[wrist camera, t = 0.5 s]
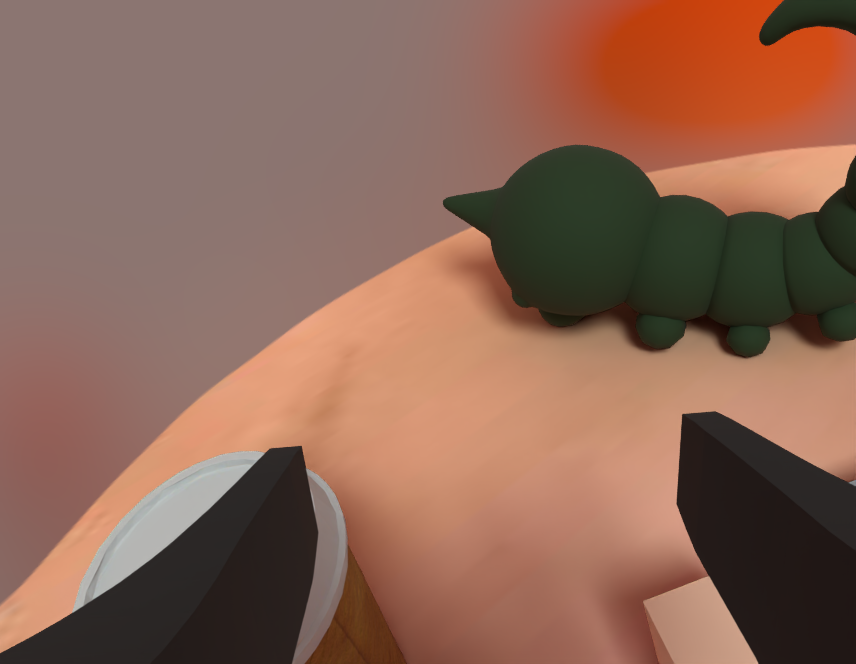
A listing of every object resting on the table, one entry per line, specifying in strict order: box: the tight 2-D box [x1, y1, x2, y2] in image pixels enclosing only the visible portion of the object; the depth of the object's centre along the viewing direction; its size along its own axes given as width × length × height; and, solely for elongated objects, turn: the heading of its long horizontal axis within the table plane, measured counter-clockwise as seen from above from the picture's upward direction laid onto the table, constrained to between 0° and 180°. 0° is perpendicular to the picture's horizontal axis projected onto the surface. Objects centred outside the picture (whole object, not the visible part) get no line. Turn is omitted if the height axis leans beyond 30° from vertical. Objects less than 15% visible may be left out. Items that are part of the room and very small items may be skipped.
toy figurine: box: [443, 0, 856, 357], centre depth 33 cm, size 9×19×25 cm
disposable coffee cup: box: [72, 451, 406, 664], centre depth 25 cm, size 10×10×12 cm
